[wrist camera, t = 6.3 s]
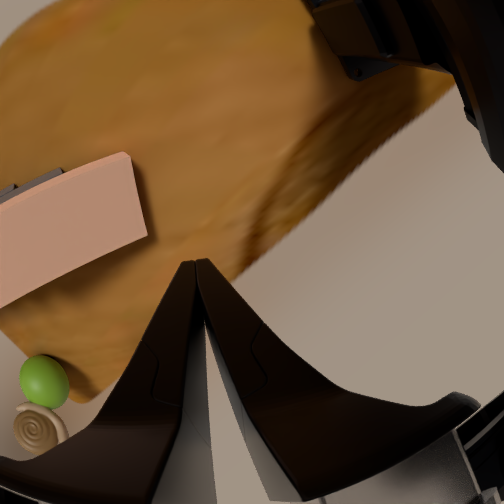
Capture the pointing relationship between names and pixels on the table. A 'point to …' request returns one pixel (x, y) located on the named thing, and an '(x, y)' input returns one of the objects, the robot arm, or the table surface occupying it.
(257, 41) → the table surface
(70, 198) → the domino
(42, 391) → the snail figurine
